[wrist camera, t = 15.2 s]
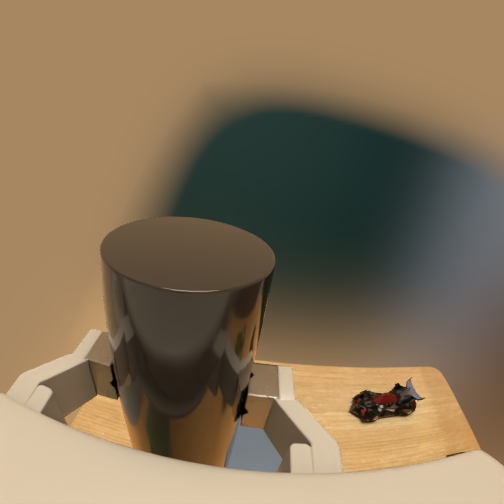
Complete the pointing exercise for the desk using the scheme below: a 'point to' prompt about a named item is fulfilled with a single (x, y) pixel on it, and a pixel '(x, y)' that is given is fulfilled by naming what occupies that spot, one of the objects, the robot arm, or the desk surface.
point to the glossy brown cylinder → (184, 330)
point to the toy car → (386, 402)
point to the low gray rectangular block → (254, 451)
